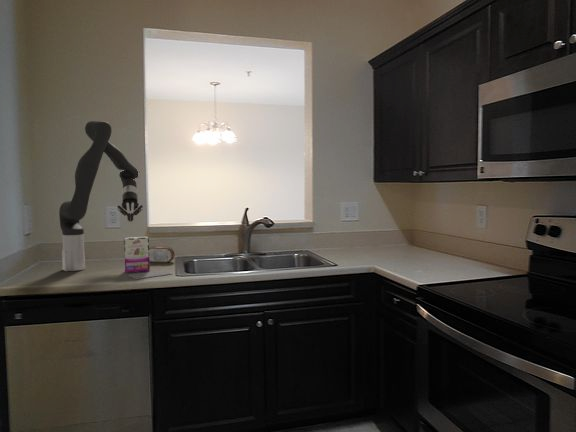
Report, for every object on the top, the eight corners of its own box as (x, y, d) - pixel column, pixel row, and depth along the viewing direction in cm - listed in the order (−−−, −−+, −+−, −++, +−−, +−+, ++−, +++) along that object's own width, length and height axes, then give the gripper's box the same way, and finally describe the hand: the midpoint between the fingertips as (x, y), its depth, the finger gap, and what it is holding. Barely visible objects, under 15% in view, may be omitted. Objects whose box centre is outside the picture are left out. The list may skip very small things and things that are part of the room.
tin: (174, 262, 223) (174, 246, 223) (172, 263, 220) (172, 247, 219) (147, 261, 225) (147, 246, 224) (145, 262, 222) (145, 246, 221)
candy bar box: (148, 269, 204) (148, 236, 203) (149, 271, 199) (149, 237, 198) (124, 271, 199) (123, 237, 198) (124, 273, 195) (124, 238, 194)
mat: (135, 279, 182) (135, 278, 182) (128, 275, 189) (128, 275, 189) (172, 274, 193) (172, 273, 193) (163, 270, 200) (163, 270, 200)
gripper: (116, 191, 217) (116, 216, 207) (143, 190, 222) (144, 215, 212) (116, 200, 223) (116, 225, 212) (143, 200, 227) (144, 224, 217)
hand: (130, 220), depth 212 cm, fingers closed
